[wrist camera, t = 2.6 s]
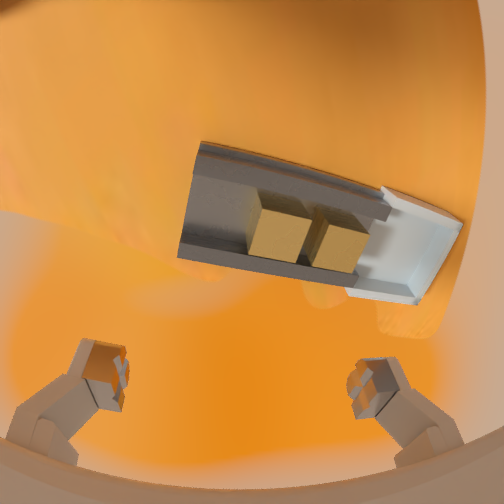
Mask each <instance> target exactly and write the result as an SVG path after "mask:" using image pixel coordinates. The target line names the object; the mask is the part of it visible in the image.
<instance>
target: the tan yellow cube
mask: <svg viewBox="0 0 504 504" xmlns="http://www.w3.org/2000/svg"><path fill="white" fill-rule="evenodd" d="M311 222H312V219H311V217H310V216H309V214H308V212H307V210H306V209H305V207H304V205H303V204H302V203H301V202H297V201H293V200H289V199H285V198H281V197H276V196H272V195H268V194H264V193H259V192H257V196H256V199H255V203H254V206H253V209H252V213H251V216H250V219H249V223H248V226H247V230H246V233H245V234H246V242H247V249H248V254H249V255H255V256H260V257H265V258H271V259H276V260H281V261H287V262H292V263H296V260H297V258H298V255H299V253H300V250H301V248H302V245H303V243H304V240H305V238H306V235H307V233H308V230H309V227H310V225H311Z"/></svg>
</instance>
